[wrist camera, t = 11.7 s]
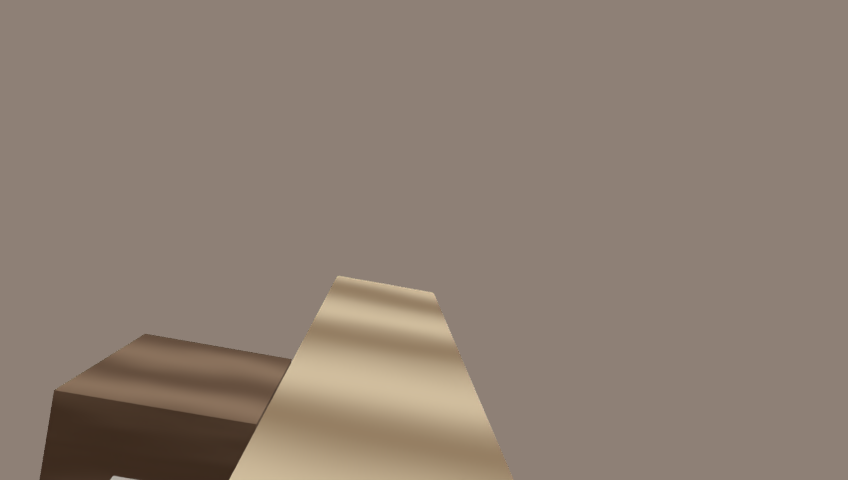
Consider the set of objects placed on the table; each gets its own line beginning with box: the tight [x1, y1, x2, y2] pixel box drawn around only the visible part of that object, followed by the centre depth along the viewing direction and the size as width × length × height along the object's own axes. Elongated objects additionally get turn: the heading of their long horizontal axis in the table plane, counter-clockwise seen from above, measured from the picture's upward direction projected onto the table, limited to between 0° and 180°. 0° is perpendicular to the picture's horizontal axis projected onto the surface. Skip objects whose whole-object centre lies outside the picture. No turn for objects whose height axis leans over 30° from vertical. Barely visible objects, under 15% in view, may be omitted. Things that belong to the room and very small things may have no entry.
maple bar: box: [229, 276, 513, 480], centre depth 18 cm, size 22×3×3 cm, turn 3°
